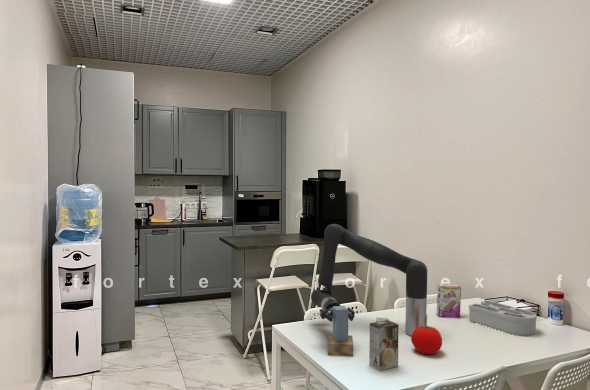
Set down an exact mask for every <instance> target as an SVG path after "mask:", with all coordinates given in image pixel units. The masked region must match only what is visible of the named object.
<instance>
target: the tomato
mask: <svg viewBox="0 0 590 390" xmlns="http://www.w3.org/2000/svg"><path fill="white" fill-rule="evenodd" d="M410 341H411V343H412V346H413V347H414V348H415V350H417V351H418V352H420V353H421V354H425V355H426V354H427V355H432V354H436V353H437V352H439V351H440V350H441V348H442V346H443V337H442V334H441V332H440V331H439V330H438V329H437V328H435V327H432V326H428V325H427V326H420V327H418V328H416V329H415V330H414V331H413V333H412V335H411V336H410Z"/></svg>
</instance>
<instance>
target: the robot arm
mask: <svg viewBox="0 0 590 390" xmlns="http://www.w3.org/2000/svg"><path fill="white" fill-rule="evenodd" d="M323 233H324V234H323V235H324V236H323V252H322V253H323V254H322V258H321V265H320V269H319V274H318V279H317V282H318V285H321V286H323V287H325V288H326V289H324V290H323V289H318V288H317V289H314V290H313V291H312V292H311V295H310V300H311V302H312V304H313V305H315V306H316V307H319V317H320V318H321V320H325V319H326V320H327V321H329V322H331V323H333V306H342V305H341V303H339V301H337V299H336V298H334V293H333V281H334V276H335V269H336V257H337V252H338V251H337V250H338V247H339V245H341V246H343V247H345V248H349V249H350V250H352V251H354V252H355V253H357V254H358V255H359V256H361V257H363V258H365V259H367V260H368V261H370V262H373V263H375V264H378V265H381V266H384V267H390V268H393V269H395V270H398V271H400V272H402V273H403V274H405V319H404V320H405V321H404V322H405V324H404V325H405V332H404V333H405V334H406V335H408V336H410V337H411V335H412V333H413V331H414V330H415V329H416V328H418V327H420V326H428V314H427V304H428V299H427V298H428V268H427V265H426V263H424V262H423V261H421V260H419V259H415V258H412V257H408V256H406V255H404V254H402V253H400V252H397V251H396V250H393V249H392V248H390V247H388V246H385V245H384V244H382V243H379V242H377V241H375V240H373V239H370V238H366V237H364V236H360V235H357V234H355V233H353V232H352V231H350V230H348V229H346V228H345V227H343V226H341V225H340V224H338V223H331V224H328V225H327V226H326V227H325V228H324V232H323ZM347 309H348V321H350V322H353V321H354V319H355V317H356V315H355V314H356V313H355V310H353V309H352V308H351V307H347Z"/></svg>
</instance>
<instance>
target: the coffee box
mask: <svg viewBox="0 0 590 390" xmlns="http://www.w3.org/2000/svg"><path fill="white" fill-rule="evenodd" d="M368 353H369V357H368V358H369V360H368V362H369V366H371V367H372V368H375V369H376V370H377V371H379V372H380V371H384V370H387V369H392V368H395V367H398V366H399V324H398V323H395V322H394V321H391V320H390V319H389V320H385V321H380V322H376V321H375V322H370V323H369V352H368Z"/></svg>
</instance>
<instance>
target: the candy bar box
mask: <svg viewBox="0 0 590 390" xmlns="http://www.w3.org/2000/svg"><path fill="white" fill-rule="evenodd" d="M461 301H462V286H460V285H459V284H449V283H448V284H447V283H446V284H443V283H438V284H437V289H436V316H437V317H439V318H453V317H460V318H461Z"/></svg>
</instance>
